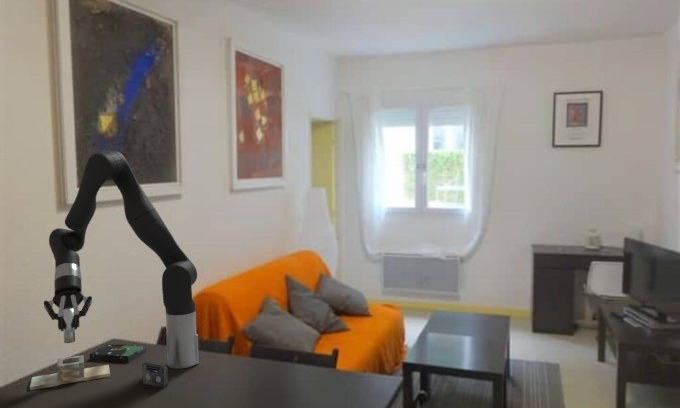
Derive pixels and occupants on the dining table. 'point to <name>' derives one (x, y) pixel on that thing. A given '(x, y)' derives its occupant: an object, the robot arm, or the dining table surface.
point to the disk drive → (117, 353)
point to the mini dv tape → (155, 375)
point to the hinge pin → (68, 325)
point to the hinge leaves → (70, 373)
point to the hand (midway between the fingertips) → (69, 328)
